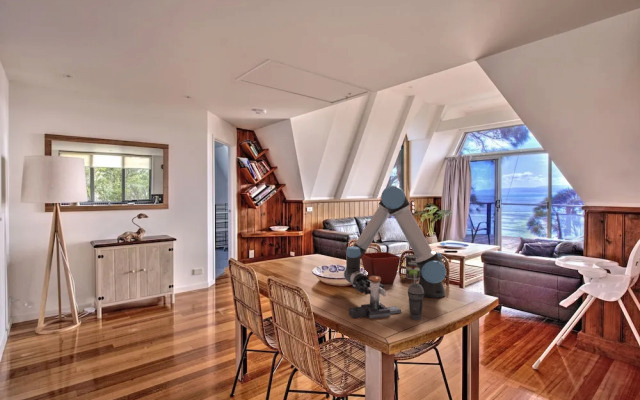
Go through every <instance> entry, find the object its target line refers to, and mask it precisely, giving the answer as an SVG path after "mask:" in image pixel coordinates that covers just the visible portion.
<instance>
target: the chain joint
mask: <svg viewBox="0 0 640 400" xmlns="http://www.w3.org/2000/svg"><path fill="white" fill-rule="evenodd" d="M401 313H402V308H401V309H400V308H399V307H398V306H395V305H394V306H386V305H384V304H383V303H381V302H380V304H379V309H371V308H370V303H365V304H361V305H360V306H357V307H356V306H355V307H354V306H353V307H349V308H348V315H349V316H350V317H351V318H352V319H359V318H369V319H378V318H379V319H380V318H388V317H389V318H390V317H391V315H394V314H401Z"/></svg>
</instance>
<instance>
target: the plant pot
mask: <svg viewBox="0 0 640 400" xmlns="http://www.w3.org/2000/svg"><path fill="white" fill-rule="evenodd" d="M400 261H401V256H400V255H396V254H393V253H391V252H389V251H384V252H383V251H382V252H365V253H364V255H363V256H362V258H361V262H362V268H363V270H366V271H367V272H368V275H367V277H368V278H369V276H379V277H381V281H380V284H382V285H385V284H386V285H387V284H394V282H395V280H396V277H397V273H398V271H399V266H400Z"/></svg>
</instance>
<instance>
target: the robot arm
mask: <svg viewBox="0 0 640 400" xmlns="http://www.w3.org/2000/svg"><path fill="white" fill-rule="evenodd" d="M410 206H411V203H410V202H409V199H408V198H407V195H406V193H405V192H404V190H403V188H401V187H400V186H398V185H389V186H386V188H384V189H383V190H382V192H381V196H380V201H379V202H378V207H377V209H376V210H375V212H374V213H373V214H372V217H371V218H370V220H369V221H368V222H367V224H366V226H365V228H364V229H363V230H362V232H361V233H360V235H359V237H358V238H357V239H356V242H355V243H354V245H353V246H348V247H346V252H345V255H346V256H345V258H346V259H345V261H346V263H345V264H346V267H345V269H344V271H343V277H344V278H345V280H346V281H347V282H349V283H350V284H351V285H352V288H353V289H355V290H357V291H358V292H360V293H361V294H364V295H365V296H366V295H367V296H368V295H369V296H370V295H371V296H372V297H374V298H375V295H376V291H374V290H373V289H371V288H370V280H369V278H368V277H367V276H366V274H365V273H362V272H361V260H362V256H363V255H364V253H367V252H366V251H367V250H368V248H369V247H370V245H371V244H372V243H373V241H374V240H375V238H376V236H377V235H378V234H379V231H380V230H381V229H382V227H383V226H384V225H385V223H386V221H387V220H388V218H389V217H390V216H392V217H394V219H395V220H396V223H397V224H398V226H399V228H400V230H401V232H402V233H403V236H404V237H405V239H406V241H407V242H408V244H409V246H410V248H411V250H412V252H413V255H416V261H415V262H416V264H417V265H418V267H419V269H420V279H419V280H418V284H420V285H421V286H422V287H423V289H424V297H423V298H430V299H434V298H438V299H439V297H440V298H443V296H444V297H445V296H446V290H445V287H444V283H443V280H444V279H445V278H446V276H447V268H446V267H445V264H444V263H443V256H442V255H443V254H442V253H440V252H437V251H435V250H432V247H431V246H430V245H429V243H428V242H429V241H427V239H426V237H425V235H424V233H423V231H422V230H421V228H420V226H419V224H418V222H417V220H416V219H415V217H414V214H413V213H412V211H411V209H410ZM386 293H387V290H385V285H384V284H380V295H381V296H382V297H384V298H385V297H386V296H387V295H386Z"/></svg>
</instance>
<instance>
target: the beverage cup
mask: <svg viewBox="0 0 640 400" xmlns="http://www.w3.org/2000/svg"><path fill="white" fill-rule="evenodd" d="M407 296H408V304H409V305H408V306H409V307H408V308H409V315H410V319H411V320H414V321H420V320H422V313H423V303H424V298H425V297H424V289H423V287H422V286H421V285H420V284H418V283H417V282H416V280H415V273H414V280H413V283H411V284H410V285H409V286H408V288H407Z"/></svg>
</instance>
